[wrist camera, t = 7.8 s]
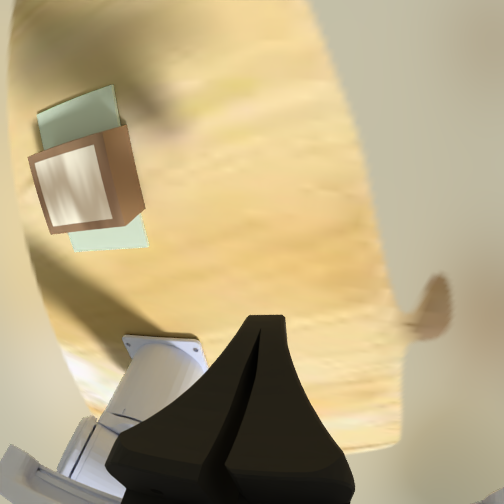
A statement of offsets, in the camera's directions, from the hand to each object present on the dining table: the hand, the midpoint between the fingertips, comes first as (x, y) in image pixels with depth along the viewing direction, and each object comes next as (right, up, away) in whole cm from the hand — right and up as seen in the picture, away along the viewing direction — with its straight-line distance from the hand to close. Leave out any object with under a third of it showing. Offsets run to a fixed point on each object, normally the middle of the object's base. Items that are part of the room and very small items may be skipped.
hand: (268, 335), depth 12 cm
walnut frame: (-9, +8, +7) cm, 14 cm away
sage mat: (-13, +9, +9) cm, 18 cm away
